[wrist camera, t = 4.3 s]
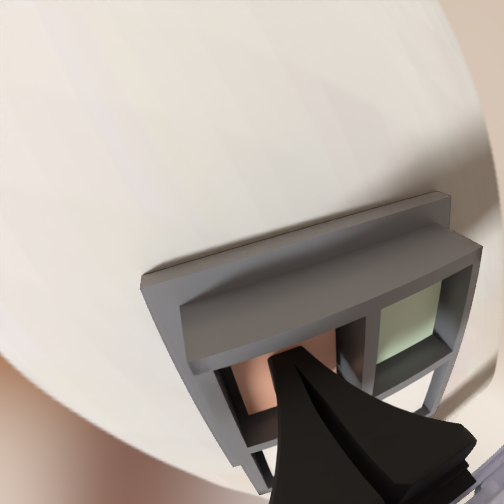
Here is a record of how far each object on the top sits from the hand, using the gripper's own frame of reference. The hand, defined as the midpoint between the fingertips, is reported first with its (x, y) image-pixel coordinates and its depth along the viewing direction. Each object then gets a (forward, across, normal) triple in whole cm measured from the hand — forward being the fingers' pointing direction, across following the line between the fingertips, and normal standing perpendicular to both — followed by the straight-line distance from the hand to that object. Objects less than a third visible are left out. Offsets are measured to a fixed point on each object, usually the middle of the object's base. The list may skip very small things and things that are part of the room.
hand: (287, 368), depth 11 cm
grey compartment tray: (+3, -3, +3) cm, 5 cm away
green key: (+1, -6, 0) cm, 6 cm away
